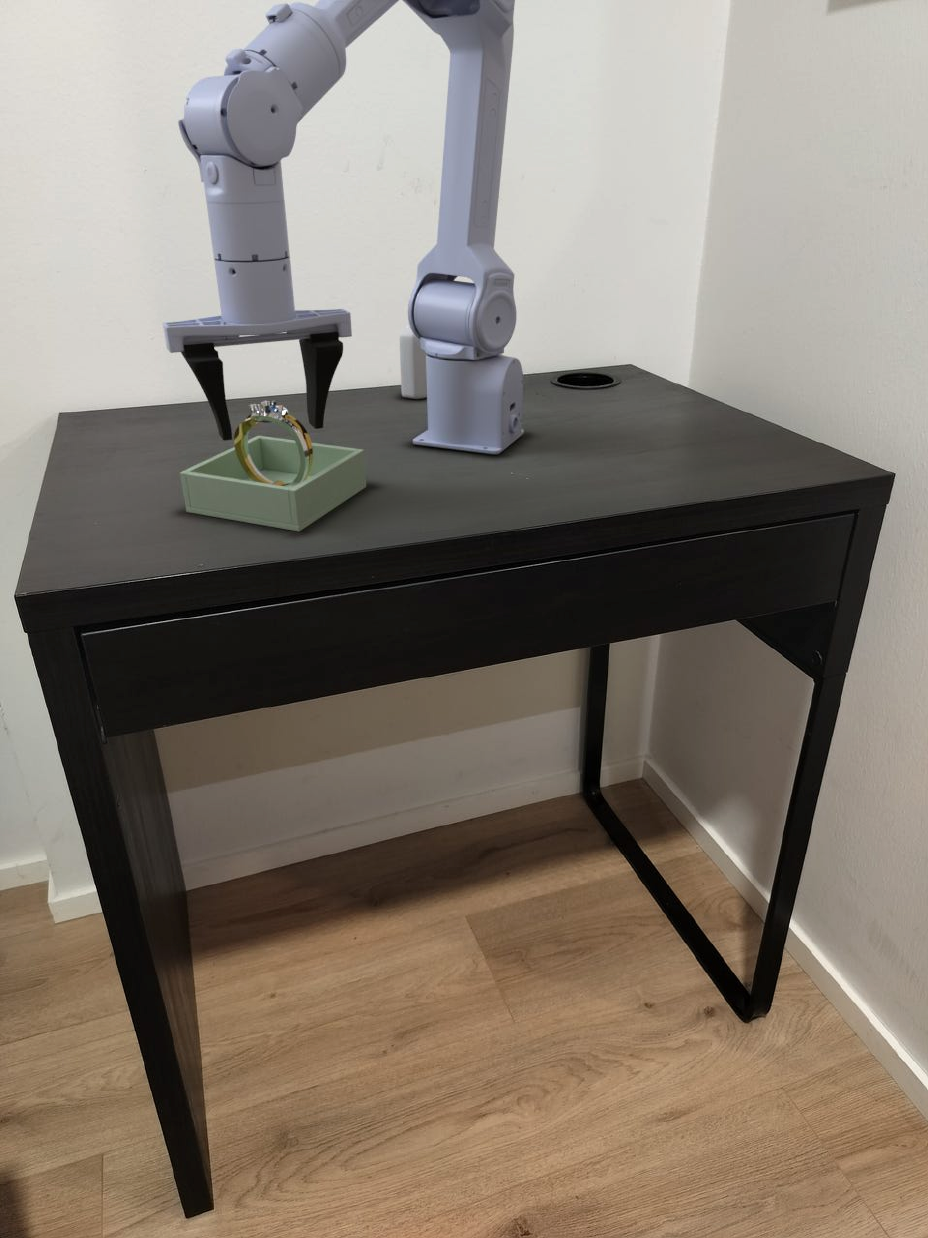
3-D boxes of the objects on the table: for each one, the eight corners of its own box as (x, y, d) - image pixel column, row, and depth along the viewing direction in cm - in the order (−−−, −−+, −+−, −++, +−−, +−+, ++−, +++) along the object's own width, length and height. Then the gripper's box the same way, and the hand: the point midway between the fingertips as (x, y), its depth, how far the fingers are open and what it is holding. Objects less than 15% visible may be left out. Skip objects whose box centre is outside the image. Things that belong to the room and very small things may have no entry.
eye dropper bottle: (392, 393, 109) (388, 290, 103) (433, 387, 111) (430, 286, 105) (408, 401, 105) (404, 295, 100) (449, 395, 108) (448, 291, 102)
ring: (234, 493, 77) (222, 402, 73) (257, 482, 79) (246, 393, 76) (300, 506, 74) (291, 411, 70) (322, 493, 77) (314, 402, 73)
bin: (366, 486, 80) (364, 449, 78) (299, 532, 71) (294, 490, 69) (262, 471, 84) (258, 435, 82) (186, 512, 74) (179, 472, 73)
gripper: (328, 247, 73) (340, 409, 80) (147, 257, 68) (176, 429, 75) (354, 256, 68) (365, 429, 74) (159, 267, 63) (189, 452, 69)
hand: (271, 431), depth 74 cm, fingers open, 7 cm apart
